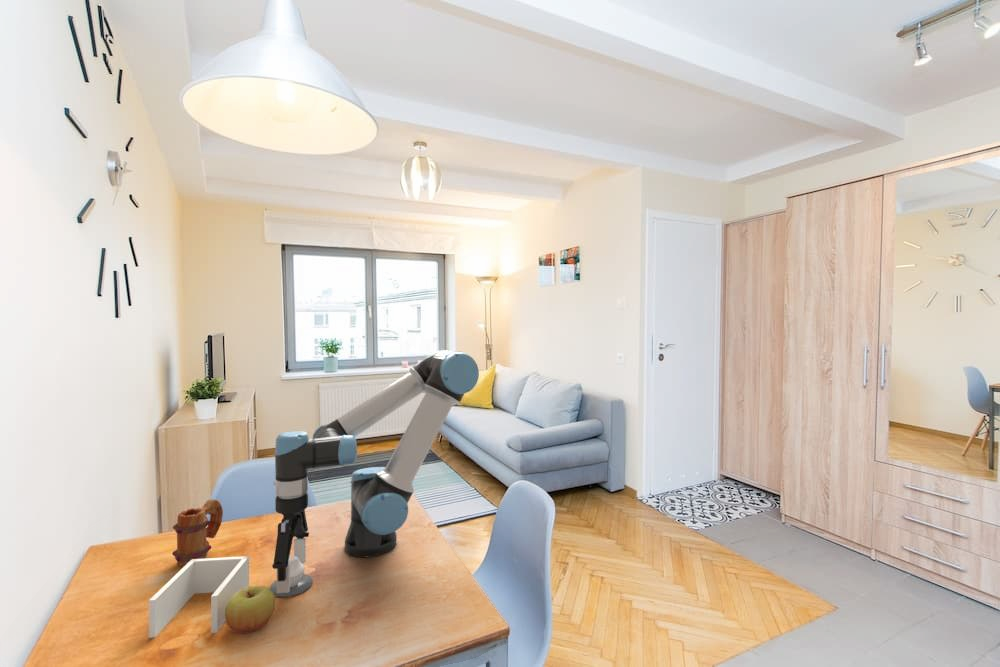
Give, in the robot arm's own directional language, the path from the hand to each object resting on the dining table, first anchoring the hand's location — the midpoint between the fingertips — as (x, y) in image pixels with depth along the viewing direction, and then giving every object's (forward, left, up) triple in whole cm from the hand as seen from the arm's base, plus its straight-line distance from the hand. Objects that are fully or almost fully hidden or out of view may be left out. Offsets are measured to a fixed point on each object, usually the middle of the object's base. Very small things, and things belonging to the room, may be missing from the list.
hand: (291, 576), depth 117 cm
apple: (+4, +15, -3) cm, 16 cm away
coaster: (0, 0, -2) cm, 2 cm away
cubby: (+17, +8, -2) cm, 19 cm away
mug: (+30, -18, -3) cm, 35 cm away
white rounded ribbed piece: (0, 0, -2) cm, 2 cm away
